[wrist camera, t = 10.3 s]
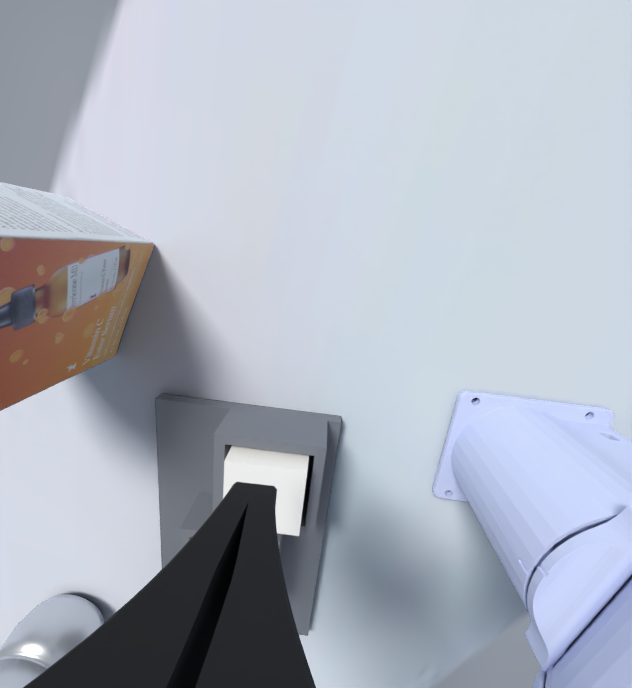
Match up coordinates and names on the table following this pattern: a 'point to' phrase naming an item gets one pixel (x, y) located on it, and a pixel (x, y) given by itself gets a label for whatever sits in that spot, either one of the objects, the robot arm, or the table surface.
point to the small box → (61, 289)
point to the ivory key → (271, 480)
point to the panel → (208, 476)
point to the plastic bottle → (46, 638)
